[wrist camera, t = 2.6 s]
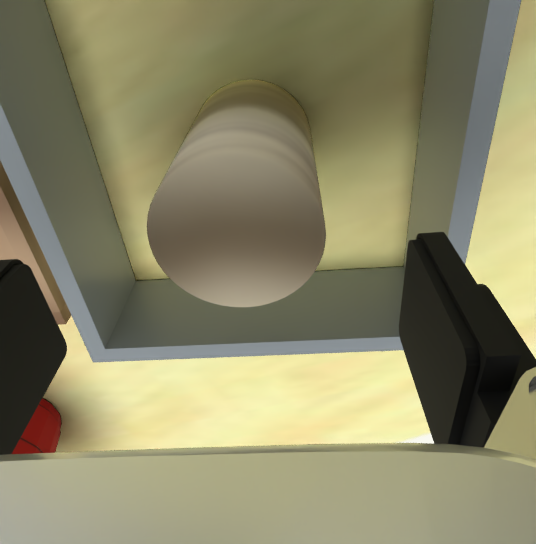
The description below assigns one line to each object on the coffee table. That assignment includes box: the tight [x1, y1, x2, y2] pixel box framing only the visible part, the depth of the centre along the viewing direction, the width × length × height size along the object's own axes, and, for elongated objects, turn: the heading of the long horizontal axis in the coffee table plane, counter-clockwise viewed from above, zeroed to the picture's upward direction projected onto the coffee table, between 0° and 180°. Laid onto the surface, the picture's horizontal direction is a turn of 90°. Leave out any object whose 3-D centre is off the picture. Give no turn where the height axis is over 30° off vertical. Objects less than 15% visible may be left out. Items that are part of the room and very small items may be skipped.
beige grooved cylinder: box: [147, 80, 326, 307], centre depth 16 cm, size 5×5×8 cm
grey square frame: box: [0, 0, 521, 362], centre depth 17 cm, size 16×16×5 cm
